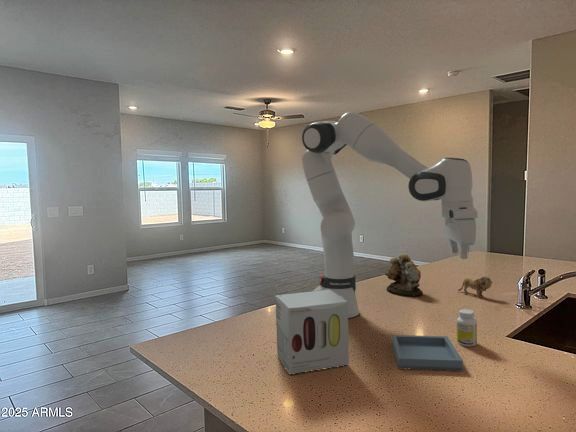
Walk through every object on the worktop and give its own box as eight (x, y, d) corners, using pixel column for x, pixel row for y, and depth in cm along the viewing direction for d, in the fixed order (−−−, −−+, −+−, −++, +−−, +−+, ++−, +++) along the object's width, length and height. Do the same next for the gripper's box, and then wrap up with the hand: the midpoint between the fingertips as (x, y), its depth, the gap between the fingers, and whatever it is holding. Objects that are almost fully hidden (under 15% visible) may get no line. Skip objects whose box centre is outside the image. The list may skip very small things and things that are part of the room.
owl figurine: (378, 291, 176) (377, 253, 174) (394, 286, 183) (393, 250, 182) (413, 298, 162) (413, 258, 160) (429, 293, 169) (428, 254, 168)
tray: (398, 368, 102) (398, 358, 102) (391, 343, 118) (391, 334, 118) (462, 371, 100) (462, 360, 99) (447, 345, 115) (447, 336, 115)
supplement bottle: (466, 338, 120) (466, 307, 119) (480, 345, 115) (481, 312, 114) (452, 341, 118) (452, 310, 117) (466, 348, 113) (466, 315, 112)
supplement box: (289, 377, 100) (287, 308, 98) (276, 355, 113) (274, 294, 111) (351, 366, 105) (349, 300, 103) (331, 346, 118) (330, 288, 116)
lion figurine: (494, 298, 159) (494, 276, 158) (487, 300, 156) (487, 278, 155) (461, 290, 171) (461, 270, 170) (454, 292, 168) (454, 272, 168)
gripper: (438, 209, 129) (440, 250, 130) (455, 213, 109) (457, 262, 110) (458, 208, 128) (459, 249, 129) (479, 212, 108) (481, 261, 109)
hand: (459, 255), depth 119 cm, fingers open, 8 cm apart
